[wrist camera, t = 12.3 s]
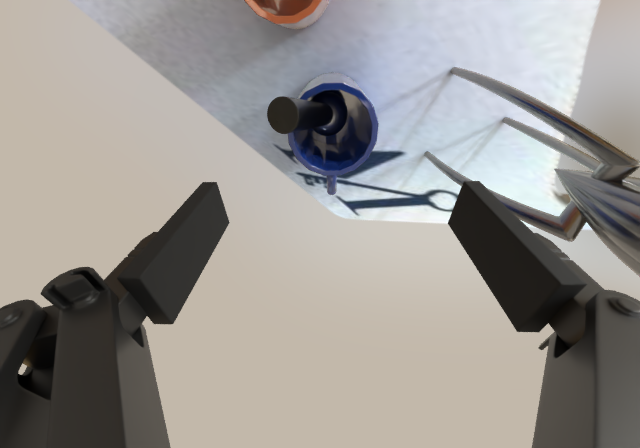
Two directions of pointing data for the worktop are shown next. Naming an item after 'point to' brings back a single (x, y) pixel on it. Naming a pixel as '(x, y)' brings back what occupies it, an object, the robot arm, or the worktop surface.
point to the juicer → (575, 178)
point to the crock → (289, 11)
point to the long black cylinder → (308, 114)
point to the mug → (348, 143)
